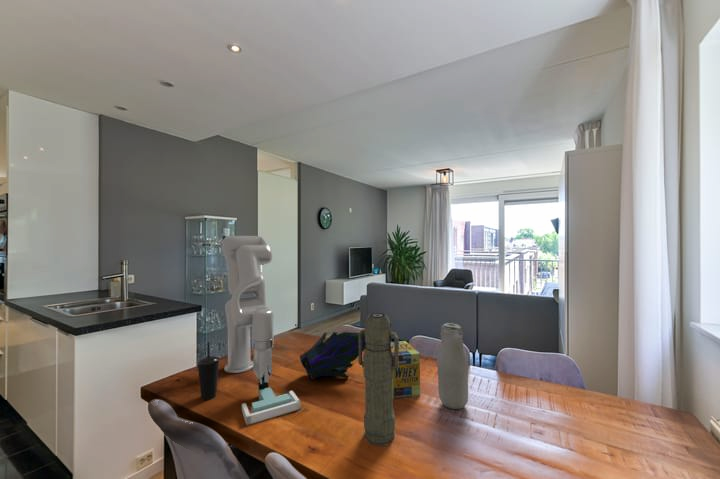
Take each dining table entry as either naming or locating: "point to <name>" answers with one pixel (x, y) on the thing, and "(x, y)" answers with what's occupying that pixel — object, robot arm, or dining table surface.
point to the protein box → (406, 372)
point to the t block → (269, 400)
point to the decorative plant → (332, 355)
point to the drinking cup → (208, 375)
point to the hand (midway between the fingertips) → (263, 392)
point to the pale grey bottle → (452, 367)
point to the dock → (271, 410)
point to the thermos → (378, 378)
